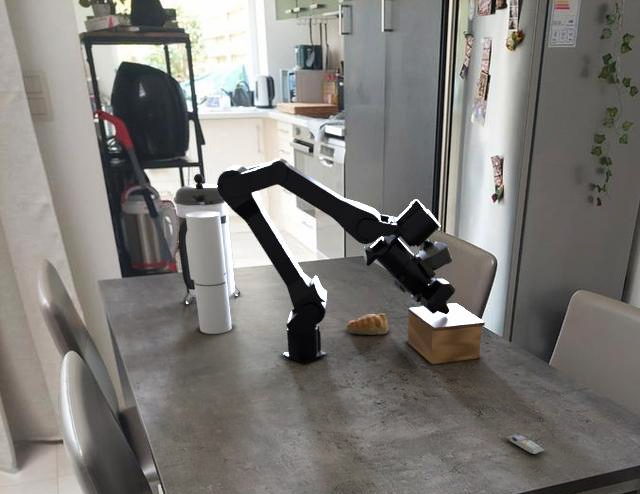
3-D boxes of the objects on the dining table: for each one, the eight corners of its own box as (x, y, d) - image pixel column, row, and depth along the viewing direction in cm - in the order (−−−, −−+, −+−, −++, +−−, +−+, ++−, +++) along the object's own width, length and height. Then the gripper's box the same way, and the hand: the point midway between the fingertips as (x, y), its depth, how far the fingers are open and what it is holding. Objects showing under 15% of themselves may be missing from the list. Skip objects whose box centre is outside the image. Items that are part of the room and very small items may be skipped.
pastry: (349, 337, 155) (349, 320, 153) (343, 328, 161) (343, 311, 159) (390, 334, 157) (390, 317, 155) (382, 325, 162) (383, 309, 160)
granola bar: (544, 453, 109) (545, 447, 108) (533, 457, 108) (534, 451, 107) (515, 436, 114) (516, 430, 113) (505, 439, 113) (505, 434, 112)
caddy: (451, 337, 155) (453, 307, 152) (479, 358, 144) (481, 326, 141) (407, 342, 152) (408, 311, 149) (432, 364, 141) (433, 331, 138)
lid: (455, 306, 152) (455, 303, 151) (484, 325, 141) (485, 322, 140) (408, 311, 149) (408, 308, 148) (433, 331, 138) (434, 327, 137)
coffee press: (173, 296, 182) (155, 172, 167) (232, 288, 188) (220, 168, 173) (188, 314, 169) (170, 181, 153) (251, 306, 175) (240, 177, 159)
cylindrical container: (235, 324, 163) (223, 211, 150) (226, 334, 157) (214, 217, 144) (205, 323, 163) (191, 210, 150) (196, 333, 157) (181, 217, 144)
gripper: (448, 240, 127) (496, 294, 135) (410, 221, 142) (455, 271, 150) (407, 287, 128) (456, 338, 137) (373, 263, 143) (420, 310, 152)
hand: (447, 312), depth 144 cm, fingers closed
